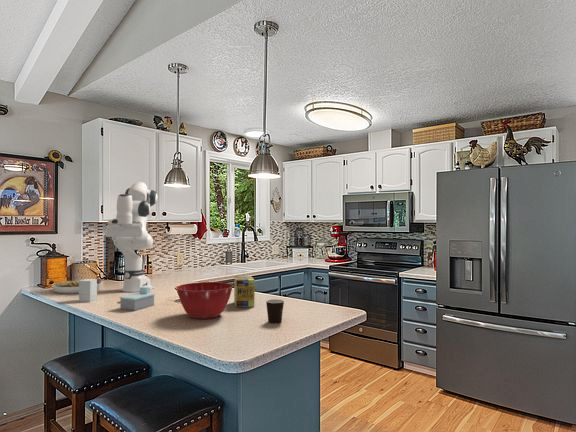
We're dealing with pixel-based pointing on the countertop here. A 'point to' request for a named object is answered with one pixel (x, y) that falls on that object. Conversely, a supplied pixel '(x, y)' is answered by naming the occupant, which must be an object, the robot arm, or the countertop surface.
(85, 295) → the supplement box
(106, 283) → the countertop surface
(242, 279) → the protein box
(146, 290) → the lid
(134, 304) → the tub
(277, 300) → the coffee mug
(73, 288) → the bowl
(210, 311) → the mixing bowl
